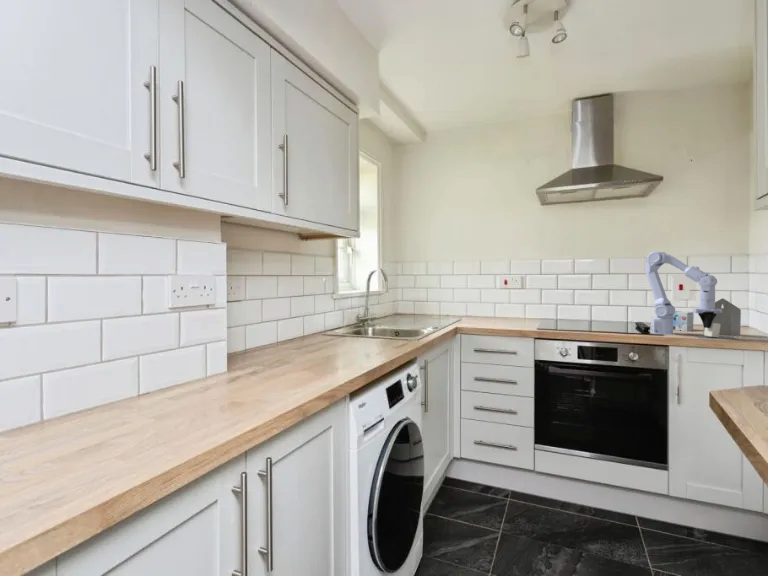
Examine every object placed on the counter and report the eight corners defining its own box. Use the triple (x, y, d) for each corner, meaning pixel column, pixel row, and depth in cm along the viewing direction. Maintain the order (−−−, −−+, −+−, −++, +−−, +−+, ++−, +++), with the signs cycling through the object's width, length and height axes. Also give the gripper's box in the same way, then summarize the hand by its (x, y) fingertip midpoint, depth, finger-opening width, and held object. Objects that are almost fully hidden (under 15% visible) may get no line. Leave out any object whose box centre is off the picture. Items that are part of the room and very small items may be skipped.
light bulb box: (666, 329, 229) (666, 310, 228) (672, 328, 232) (673, 310, 232) (687, 331, 219) (687, 312, 219) (693, 330, 222) (694, 311, 222)
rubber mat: (699, 339, 192) (699, 338, 192) (690, 335, 204) (690, 334, 203) (740, 341, 186) (740, 340, 186) (729, 337, 198) (729, 336, 198)
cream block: (711, 337, 192) (713, 322, 192) (703, 335, 196) (705, 321, 196) (718, 338, 193) (720, 323, 193) (710, 336, 197) (712, 322, 197)
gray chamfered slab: (730, 333, 211) (731, 297, 210) (740, 336, 203) (741, 298, 202) (695, 332, 214) (696, 297, 214) (703, 334, 207) (704, 298, 206)
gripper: (702, 300, 188) (701, 328, 189) (728, 300, 190) (727, 328, 191) (688, 299, 195) (688, 327, 196) (714, 299, 197) (713, 326, 198)
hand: (706, 327), depth 194 cm, fingers closed
